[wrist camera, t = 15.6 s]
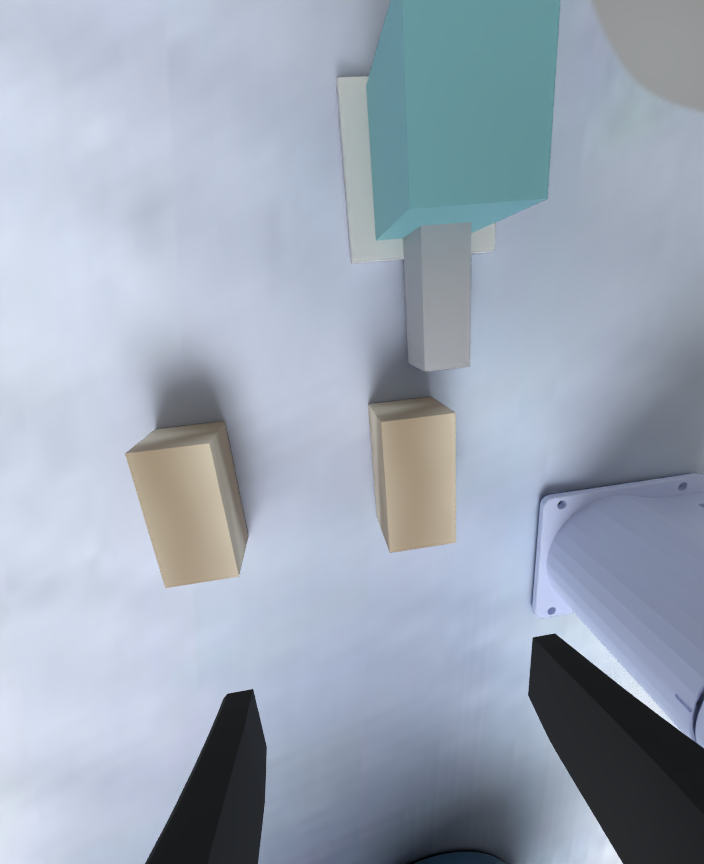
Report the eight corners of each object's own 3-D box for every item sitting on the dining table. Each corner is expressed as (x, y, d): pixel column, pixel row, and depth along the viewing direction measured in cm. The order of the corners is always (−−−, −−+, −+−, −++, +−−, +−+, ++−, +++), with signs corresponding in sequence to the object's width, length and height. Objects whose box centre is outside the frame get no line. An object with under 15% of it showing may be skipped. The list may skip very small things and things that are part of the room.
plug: (473, 81, 14) (562, -38, 9) (471, 356, 17) (536, 374, 12) (366, 85, 13) (400, -35, 9) (383, 366, 17) (416, 388, 12)
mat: (494, 77, 14) (499, 71, 14) (490, 252, 16) (494, 250, 16) (336, 83, 14) (337, 77, 13) (351, 263, 16) (352, 262, 15)
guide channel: (430, 396, 18) (455, 413, 15) (433, 508, 20) (455, 542, 17) (155, 429, 17) (125, 453, 14) (186, 545, 18) (165, 587, 16)
